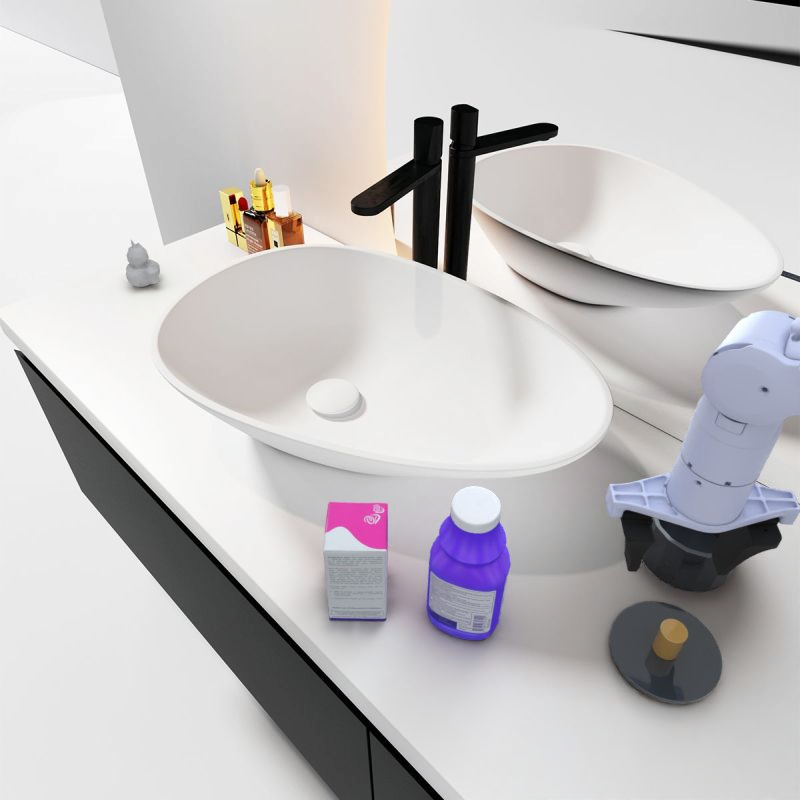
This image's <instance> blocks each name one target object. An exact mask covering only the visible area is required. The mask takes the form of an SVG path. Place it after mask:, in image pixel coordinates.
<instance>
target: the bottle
mask: <svg viewBox="0 0 800 800" xmlns="http://www.w3.org/2000/svg"><path fill="white" fill-rule="evenodd" d="M501 510H502V505H501V500H500V499H499V497H498V496H497V495H496V494H495V493H494V492H493V491H492V490H490V489H488V488H486V487H483V486H477V485H472V486H466V487H462V488H461V489H459V490H458V491H457V492H456V493H455V494H454V495H453V497H452V500H451V506H450V510H449V511H450V513H449V515H448V516H447V517H446V518H444V520H443V521H442V523H441V524H440V525H439V529H438V535H437V537H435V540H434V541H433V542H432V545H431V547H430V551H429V560H428V574H427V590H426V591H427V592H426V613H427V616H428V619H429V621H430V622H431V624H432V625H433V626H434V627H435V628H437V629H438V630H439V631H441V632H443V633H445V634H447V635H449V636H452V637H454V638H457V639H462V640H465V641H466V640H467V641H481V640H482V641H483V640H485V639H487V638H488V637H489V636H491V635H492V634H493V632H494V631H495V630H496V628H497V626H498V625H499V623H500V619H501V616H502V608H503V604H504V598H505V593H506V587H507V583H508V577H509V573H510V569H511V555H510V552H509V548H508V546H507V534H506V532H505V529H504V526H503V524H501V517H502V515H501V512H502V511H501Z"/></svg>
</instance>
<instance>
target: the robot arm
mask: <svg viewBox="0 0 800 800" xmlns="http://www.w3.org/2000/svg"><path fill="white" fill-rule="evenodd" d="M700 382H701V388H702V391H703V393H702V395H701V397H700V398H699V399H698V401H697V403H696V406H695V409H694V412H693V415H692V417H691V420H690V422H689V425H688V428H687V430H686V432H685V436H684V438H683V441H682V444H681V446H680V450H679V452H678V454H677V456H676V460H675V462H674V465H673V466H672V470H671V471H669V472H666V473H662V474H658V475H655V476H651V477H646V478H642V479H638V480H634V481H632V482H624V483H609V485H608V487H607V490H606V491H607V492H606V494H605V505H606V510H607V515H608V518H611V519H612V518H614V519H615V518H616V519H620V523H621V528H622V532H623V535H624V552H623V554H624V560H625V564H626V568H627V571H628V572H630V573H634V572H635V573H637V571H638V570H639V569H640V567H641V566H642V565H641V564H642V562H643V556H644V554H645V553H646V551H647V550H648V549H649V547H650V546H651V545H653V544H654V543H656V540H655V536H654V532H653V528H652V523H653V520H652V517H654V518H658V519H661V520H664V521H667V522H671V523H674V524H677V525H681V526H684V527H687V528H691V529H694V530H697V531H701V532H707V533H720V532H721V533H720V535H719V537H718V539H717V541H716V543H715V546H714V548H713V552H712V559H713V562H714V565H715V568H716V571H717V574H718V575H722V576H725V575H726V574H728V573H729V572H730V571H732V570H733V569H734V570H735V569H736V568H737V567H738V566H740V565H741V564H742V563H744V562H745V561H747V560H749V559H750V558H752V557H754V556H756V555H758V554H761V553H763V552H764V553H765V552H766V551H771V550H775V549H777V548H778V547H779V545H780V544H781V542H782V541H783V536H782V533H781V530H780V528H779V525H778V524H780V525H790V526H792V525H794V523H795V522H796V520H797V518H798V517H799V515H800V504H799V501H798V499H797V497H796V495H795V492H794V490H788V489H787V490H786V489H778V488H773V487H769V486H766V485H761V484H757V481H758V480H759V477H760V475H761V474H762V471H763V470H764V467H765V465H766V463H767V462H768V459H769V457H770V455H771V453H772V452H773V450H774V448H775V445H776V444H777V442H778V439H779V437H780V435H781V433H782V431H783V427H784V420H785V419H787V418H788V417H794V416H796V417H797V416H798V417H800V316H799V317H796V316H794V315H791V314H790V313H787V312H785V311H780V310H761V311H760V310H759V311H756V312H752V313H750V314H749V315H748V316H747V317H746V316H744V317H742V318H741V320H739V321H738V322H737V323H736V324H735V326H733V327H732V329H731V330H730V332H729V333H728V334H727V336H726V337H725V338H724V339H723V340H722V342H720V344H719V345H718V346H717V348H716V349H715V350H714V352H713V353H712V354H711V355H710V356H709V358H708V359H707V361H706V363H705V365H704V367H703V368H702V372H701V377H700ZM734 570H733V571H734Z"/></svg>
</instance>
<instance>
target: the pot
mask: <svg viewBox="0 0 800 800" xmlns="http://www.w3.org/2000/svg"><path fill="white" fill-rule="evenodd" d="M652 520H653V523H652V528H653V532H654V536H655V540H656V543H654V544H653V545H651V546H650V547H649V549H648V550H647V551H646V553H645V554H644V556H643V559H642V561H643V562H644V563H645V566H646V567H647V568H648V569H649V570H650V571H651V573H653V575H655V576H656V577H657V578H659V579H660V580H661V581H663V582H664V583H667V584H668V585H670V586H671V587H674V588H677V589H680V590H683V591H688V592H696V593H697V592H698V593H700V592H701V593H702V592H709V591H712V590H715V589H717V588H719V587H721V586H722V585H723V584H725V583H726V582H727V581H728V579H729V578H730V576H731V575H732V573H733V572H734V570H735V568H734V569H733V570H732V571H730V572H729V573H728V574H726V575H725V576H722V575H718V574H717V571H716V568H715V565H714V562H713V559H712V552H713V548H714V546H715V543H716V541H717V539H718V537H719V535H720V533H721V532H720V533H707V532H701V531H697V530H694V529H691V528H687V527H684V526H681V525H677V524H674V523H671V522H667V521H664V520H661V519H658V518H654V517H652Z"/></svg>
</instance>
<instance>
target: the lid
mask: <svg viewBox="0 0 800 800" xmlns="http://www.w3.org/2000/svg"><path fill="white" fill-rule="evenodd" d="M608 640H609V648H610V653H611V657H612V659H613V661H614V663H615V665H616V668H617V669H618V671H619V672H620V673H621V675H622V676H623V677H624V679H626V680H627V682H629V683H630V684H631V685H632V686H633V687H634V688H635V689H636V690H637V691H640V692H641V693H642V694H644V695H646V696H648V697H649V698H652V699H654V700H657V701H660V702H664V703H667V704H674V705H686V704H692V703H696V702H698V701H701V700H703V699H704V698H706V697H708V696H709V695H710V694H711V693H712V692H713V691H714V689H715V688H716V687H717V685H718V683H719V682H720V679H721V676H722V672H723V659H722V654H721V649H720V647H719V644H718V643H717V640H716V638H715V637H714V635H713V634H712V632H711V631H710V630H709V629H708V627H707V626H706V625H705V624H704V623H703V622H702V621H701V620H700V619H699V618H697V616H694V615H693V614H692V613H690V612H689V611H687V610H685V609H683V608H681V607H680V606H677V605H674V604H672V603H669V602H664V601H657V600H647V601H641V602H636V603H633V604H631V605H629V606H627V607H625V608H624V609H623V610H622V611H620V612H619V614H618V615H617V616H616V617H615V619H614V621H613V622H612V625H611V628H610V631H609V639H608Z"/></svg>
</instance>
